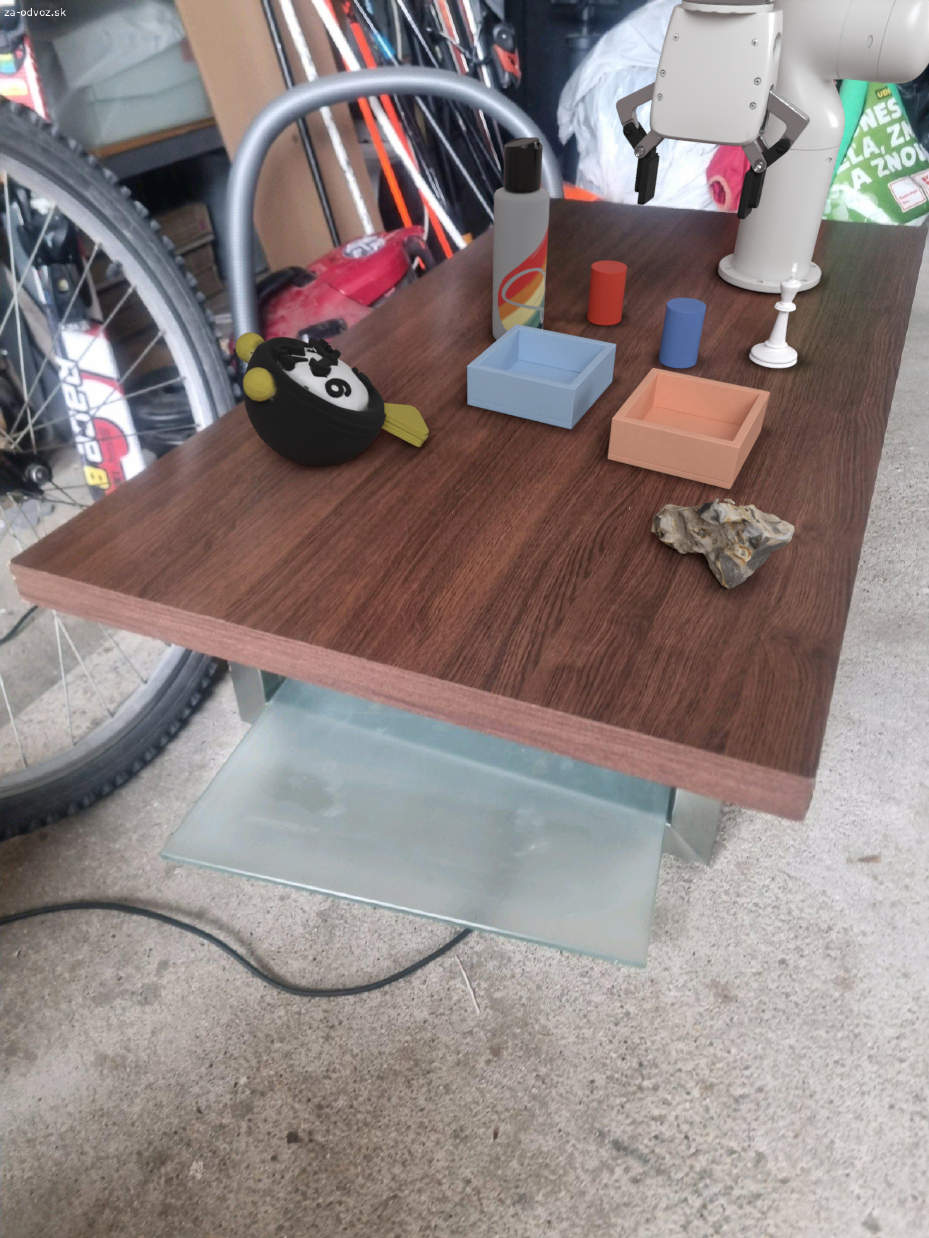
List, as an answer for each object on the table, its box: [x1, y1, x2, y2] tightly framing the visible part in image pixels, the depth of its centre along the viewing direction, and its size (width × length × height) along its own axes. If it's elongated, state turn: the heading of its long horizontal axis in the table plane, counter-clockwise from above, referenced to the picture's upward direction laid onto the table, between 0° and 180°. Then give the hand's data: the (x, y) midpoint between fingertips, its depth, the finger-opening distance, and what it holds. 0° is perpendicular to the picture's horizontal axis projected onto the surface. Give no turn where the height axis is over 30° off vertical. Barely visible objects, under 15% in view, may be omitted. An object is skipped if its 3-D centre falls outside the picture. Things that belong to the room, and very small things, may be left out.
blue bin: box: [466, 324, 617, 430], centre depth 86 cm, size 11×11×4 cm
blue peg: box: [658, 297, 707, 369], centre depth 91 cm, size 4×4×6 cm
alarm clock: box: [235, 331, 430, 467], centre depth 75 cm, size 12×15×15 cm
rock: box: [650, 497, 795, 590], centre depth 64 cm, size 9×7×10 cm
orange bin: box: [607, 367, 771, 490], centre depth 78 cm, size 11×11×4 cm
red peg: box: [586, 259, 628, 326], centre depth 99 cm, size 4×4×6 cm
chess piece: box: [748, 262, 801, 369], centre depth 89 cm, size 5×5×10 cm
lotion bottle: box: [492, 136, 551, 341], centre depth 91 cm, size 6×6×20 cm
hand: (693, 208), depth 83 cm, fingers open, 9 cm apart
